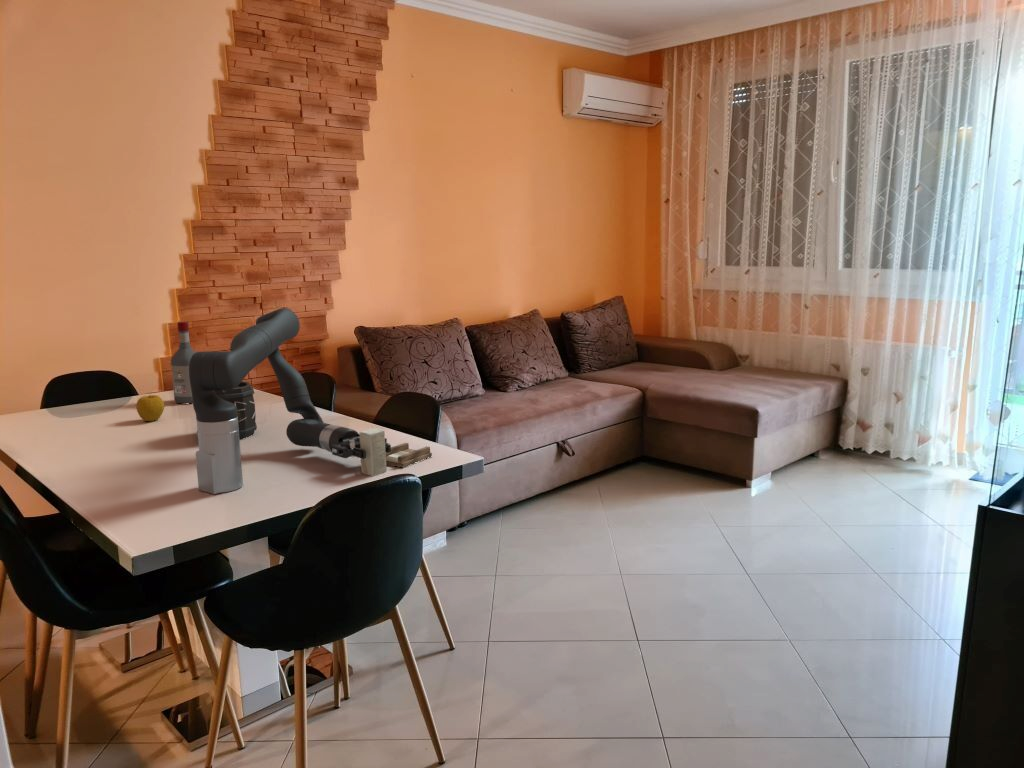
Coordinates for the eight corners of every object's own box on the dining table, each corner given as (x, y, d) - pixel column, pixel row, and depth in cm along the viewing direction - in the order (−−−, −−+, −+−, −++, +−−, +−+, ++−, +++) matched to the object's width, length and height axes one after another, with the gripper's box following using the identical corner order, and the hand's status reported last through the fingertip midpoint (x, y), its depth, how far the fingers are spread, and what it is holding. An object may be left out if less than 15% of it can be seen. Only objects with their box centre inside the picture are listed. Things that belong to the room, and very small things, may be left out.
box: (376, 468, 195) (374, 427, 193) (387, 471, 192) (385, 430, 190) (360, 473, 191) (358, 431, 189) (371, 476, 189) (369, 434, 186)
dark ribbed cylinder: (207, 446, 218) (203, 393, 215) (189, 434, 232) (184, 385, 229) (267, 436, 229) (264, 386, 226) (246, 425, 243) (243, 378, 240)
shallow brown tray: (403, 468, 195) (402, 457, 195) (374, 462, 201) (374, 452, 200) (431, 457, 205) (431, 447, 205) (404, 451, 211) (403, 442, 210)
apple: (155, 424, 245) (152, 398, 244) (131, 423, 247) (128, 397, 245) (170, 418, 254) (168, 393, 252) (148, 417, 255) (145, 392, 253)
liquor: (192, 404, 275) (185, 323, 270) (171, 403, 277) (163, 323, 272) (208, 399, 284) (201, 321, 279) (187, 398, 286) (180, 320, 281)
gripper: (315, 431, 194) (353, 442, 183) (361, 422, 205) (399, 431, 194) (317, 459, 196) (354, 472, 185) (362, 448, 206) (400, 459, 195)
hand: (377, 451), depth 189 cm, fingers open, 7 cm apart
